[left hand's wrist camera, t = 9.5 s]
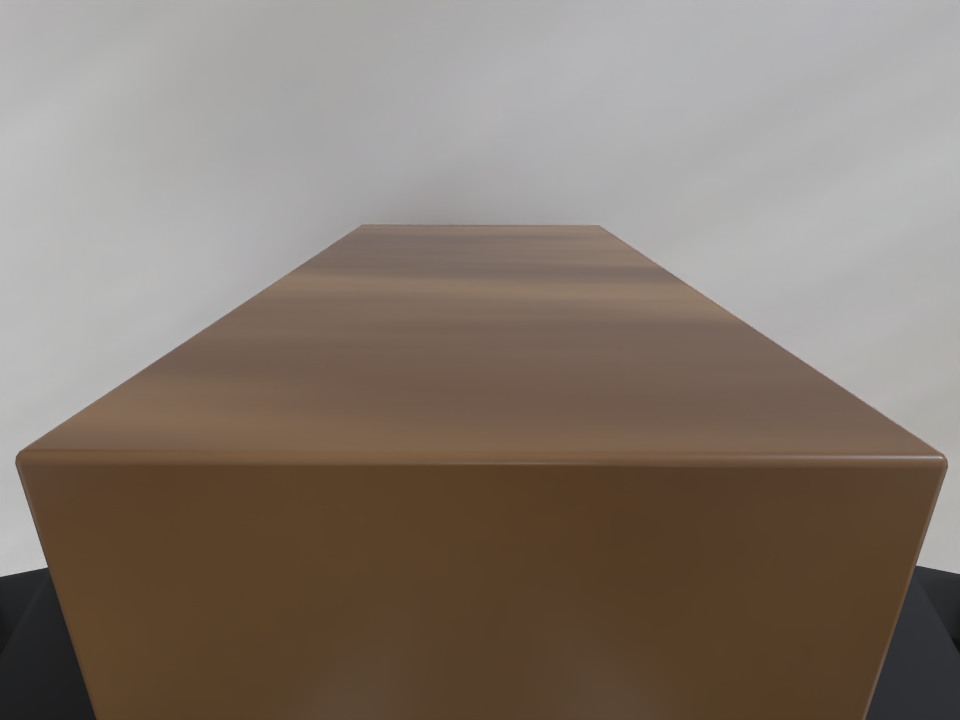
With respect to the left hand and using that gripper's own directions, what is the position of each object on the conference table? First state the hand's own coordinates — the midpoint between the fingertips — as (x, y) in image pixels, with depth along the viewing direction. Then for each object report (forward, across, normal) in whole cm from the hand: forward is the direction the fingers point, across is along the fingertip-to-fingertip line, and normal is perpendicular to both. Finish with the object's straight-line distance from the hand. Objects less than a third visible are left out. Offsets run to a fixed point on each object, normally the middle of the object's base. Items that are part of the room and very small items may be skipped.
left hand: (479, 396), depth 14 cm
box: (+2, 0, -9) cm, 9 cm away
